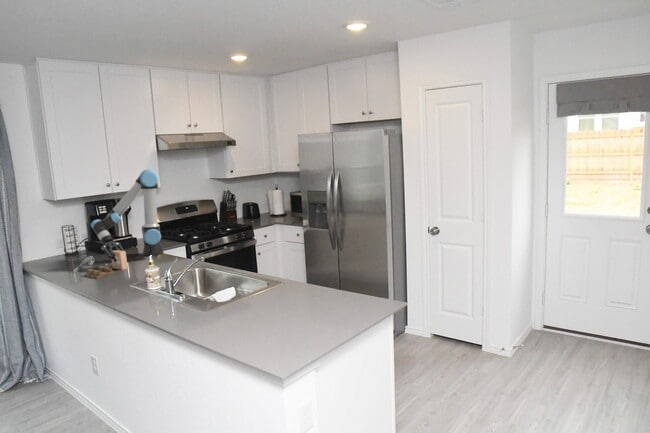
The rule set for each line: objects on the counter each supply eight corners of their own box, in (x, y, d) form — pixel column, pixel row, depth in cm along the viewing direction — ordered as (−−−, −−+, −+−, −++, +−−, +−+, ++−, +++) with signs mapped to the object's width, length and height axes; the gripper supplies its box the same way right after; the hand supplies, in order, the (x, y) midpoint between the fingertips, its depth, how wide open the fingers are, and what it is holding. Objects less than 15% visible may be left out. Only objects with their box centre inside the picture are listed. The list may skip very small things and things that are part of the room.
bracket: (95, 260, 336) (89, 250, 330) (81, 281, 319) (75, 270, 313) (91, 261, 336) (85, 250, 330) (77, 281, 319) (71, 271, 313)
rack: (85, 275, 303) (84, 270, 302) (102, 271, 313) (101, 265, 312) (97, 278, 294) (96, 272, 294) (114, 273, 304) (113, 267, 303)
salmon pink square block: (112, 268, 319) (110, 251, 317) (118, 266, 322) (115, 249, 320) (122, 269, 312) (120, 252, 310) (127, 268, 315) (125, 251, 313)
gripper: (115, 239, 330) (132, 263, 323) (92, 244, 316) (109, 270, 309) (118, 232, 326) (135, 256, 319) (95, 237, 312) (112, 263, 305)
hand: (122, 263), depth 314 cm, fingers closed on salmon pink square block, 4 cm apart
